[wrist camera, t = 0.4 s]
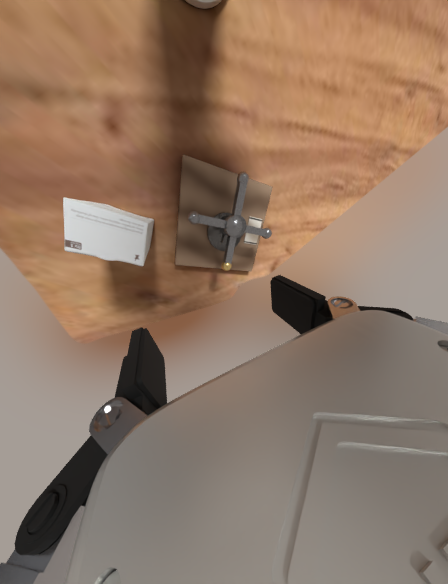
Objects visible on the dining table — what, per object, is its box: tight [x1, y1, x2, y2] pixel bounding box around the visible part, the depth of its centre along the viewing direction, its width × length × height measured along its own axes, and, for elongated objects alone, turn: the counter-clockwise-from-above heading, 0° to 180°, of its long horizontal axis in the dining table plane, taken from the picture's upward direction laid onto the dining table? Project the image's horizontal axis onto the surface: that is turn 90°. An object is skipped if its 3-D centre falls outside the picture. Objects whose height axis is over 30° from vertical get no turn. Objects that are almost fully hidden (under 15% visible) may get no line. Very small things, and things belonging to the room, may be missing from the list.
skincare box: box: [63, 198, 154, 266], centre depth 25 cm, size 8×6×15 cm
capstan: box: [188, 172, 272, 271], centre depth 33 cm, size 18×18×6 cm
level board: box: [175, 154, 272, 271], centre depth 36 cm, size 20×20×2 cm
